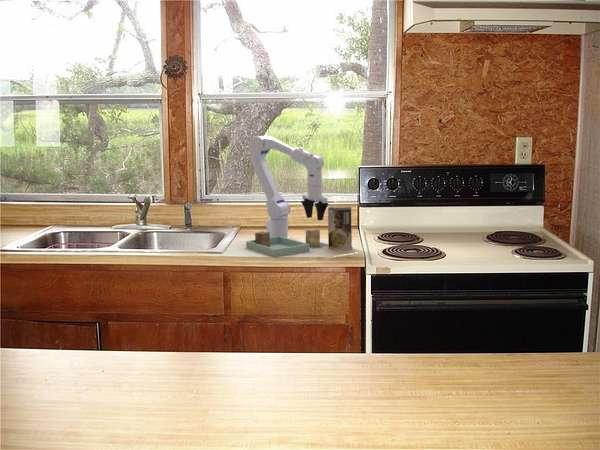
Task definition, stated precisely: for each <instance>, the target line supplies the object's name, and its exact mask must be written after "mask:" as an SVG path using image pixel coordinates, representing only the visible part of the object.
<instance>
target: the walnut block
mask: <svg viewBox="0 0 600 450" xmlns="http://www.w3.org/2000/svg"><path fill="white" fill-rule="evenodd" d="M254 238H255V239H254V240H255V243H257V244H260V245H263V246H267V247H270V232H266V231H264V230H263V231H256V232H254Z"/></svg>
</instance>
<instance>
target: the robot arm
mask: <svg viewBox="0 0 600 450" xmlns="http://www.w3.org/2000/svg"><path fill="white" fill-rule="evenodd" d="M248 148H249V154H250V155H249V156H250V157H249V159H250V160H249V161H250V163H251V165H252V168H253V170H254V172H255V174H256V177H257V179H258V181H259V184H260V186H261V189H262V190H263V192H264V194H265V197H266V202H265V206H266V208H267V214H268V217H269V218H268V219H267V220H266V223H265V224H266V225H265V226H266V231H265V232H270V238H272V237H278V236H281V237H285V238H289V239H292V240H293V237H289V222H288V221H289V218H288V217H289V214H290V213H291V206H290V204H289V203H288V202H287V201H286V199H285V197H283V196H282V194H280V193H279V190H278V188H277V186H276V183H275V181H274V179H273V177H272V174H271V171H270V169H269V168H268V165H267V162H266V161H265V159H266V157H267V155H268V154H269V152H271V150H274V151H275V150H276V151H278V152H280V153H283V154H285V155H288V156H290V159H291V161H294V162H295V163H298V164H300V165H302V166H304V167H305V168H306V170H307V194H306V193H305V194H301V195H302V200H301V204H302V206H303V209H304V211H305V216H306V218H307V219H310V218H312V217H313V210H314V206H315V209H316V219H317V221H323V220H324V216H325V213H326V210H327V209H328V207H329V202H328V197H325V196H323V194H322V193H323V188H322V187H323V186H322V185H323V183H322V182H323V180H322V179H323V177H322V171H323V169H322V168H323V167H324V165H325V160H324V158H323V157H322V156H321V155H320V154H315V155H314V153H313V152H309V151H307V150H305V149H304V147H302V146H299V147H298V146H297V147H292V146H290V145H288V144H286V143H284V142H282V141H281V140H278V139H277V138H275V137H273V136H270V135H267V134H266V135H260V136H258V135H255V136H253V137H252V138H251V139H250V141H249V144H248Z"/></svg>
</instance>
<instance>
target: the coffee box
mask: <svg viewBox="0 0 600 450" xmlns="http://www.w3.org/2000/svg"><path fill="white" fill-rule="evenodd" d="M327 219H328V220H327V227H328V228H327V231H328V233H327V235H328V236H327V237H328V238H327V239H328V240H327V241H328V243H327V244H328V246H327V248H328V250H352V249H353V245H352V244H353V242H352V240H353V239H352V238H353V237H352V207H351V206H333V207H332V206H328V207H327Z"/></svg>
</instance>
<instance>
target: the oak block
mask: <svg viewBox="0 0 600 450" xmlns="http://www.w3.org/2000/svg"><path fill="white" fill-rule="evenodd" d="M320 232H321V231H320V229H317V228H316V229H315V228H309V229H305V243H307V244H310V246H317V245H320V242H321V238H320V237H321V235H320V234H321V233H320Z"/></svg>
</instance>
